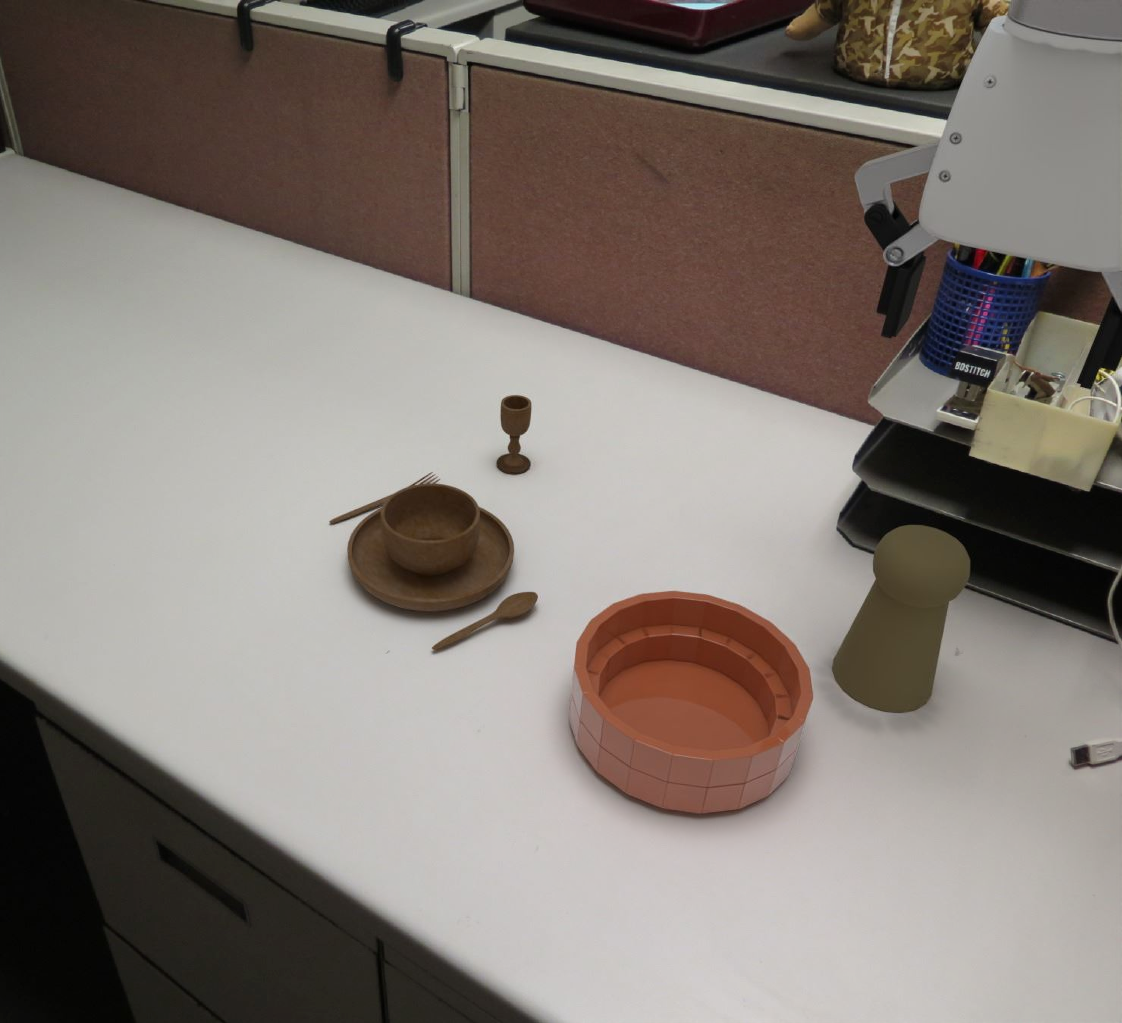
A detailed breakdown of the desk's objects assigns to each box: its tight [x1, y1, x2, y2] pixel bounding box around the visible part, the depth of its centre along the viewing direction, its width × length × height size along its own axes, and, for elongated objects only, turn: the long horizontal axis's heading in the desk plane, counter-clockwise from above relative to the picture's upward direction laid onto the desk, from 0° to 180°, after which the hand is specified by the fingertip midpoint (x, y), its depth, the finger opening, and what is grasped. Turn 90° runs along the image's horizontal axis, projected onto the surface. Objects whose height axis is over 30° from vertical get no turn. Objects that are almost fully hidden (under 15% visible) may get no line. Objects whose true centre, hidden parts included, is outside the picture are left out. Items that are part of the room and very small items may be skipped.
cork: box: [831, 524, 971, 713], centre depth 63 cm, size 6×6×11 cm
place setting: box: [328, 394, 539, 651], centre depth 76 cm, size 18×20×6 cm
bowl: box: [568, 590, 814, 814], centre depth 62 cm, size 13×13×5 cm
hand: (987, 352), depth 56 cm, fingers open, 9 cm apart
